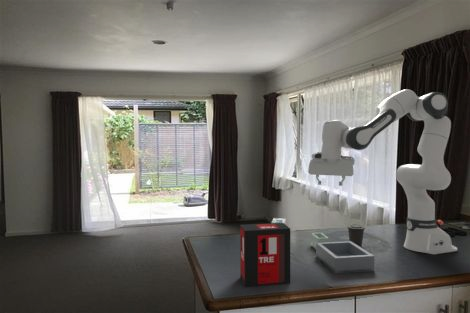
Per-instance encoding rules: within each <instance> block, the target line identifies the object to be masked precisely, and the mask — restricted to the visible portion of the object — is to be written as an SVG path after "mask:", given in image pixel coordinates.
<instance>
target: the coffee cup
mask: <svg viewBox="0 0 470 313" xmlns="http://www.w3.org/2000/svg"><path fill="white" fill-rule="evenodd" d="M347 229H348V230H347V231H348V239H349V240H348V241H351V242H353V243H354V244H356V245H358V246H359V247H361V248H362V247H363V246H362V245H363V240H364V231H365V230H366V228H365V226H363V225H359V224H357V223H356V224H350V225H348V226H347Z"/></svg>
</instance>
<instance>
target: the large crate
mask: <svg viewBox="0 0 470 313" xmlns="http://www.w3.org/2000/svg"><path fill="white" fill-rule="evenodd" d="M315 257H316V258H317V259H318V260H319V261H321V263H323V264H324V265H325V266H326V267H327V268H328V269H330V271H332V272H333V273H334V274H347V273H348V274H349V273H365V272H375V255H374V254H372V253H370V252H369V251H368V250H366V249H364V248H362V247H359V246H358V245H356V244H354V243H353V242H351V241H349V240H347V241H345V240H344V241H331V242H330V241H329V242H326V243H316V249H315Z"/></svg>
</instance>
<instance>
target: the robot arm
mask: <svg viewBox="0 0 470 313" xmlns="http://www.w3.org/2000/svg"><path fill="white" fill-rule="evenodd" d="M448 107H449V102H448V98H447V96H446V95H445V94H444V93H443V92H438V91H434V92H433V91H432V92H429V93H427V94H424V95H422V96H418V95H417V94H416V92H414V90H411V89H408V88H406V89H402V90H400V91H397V92H395V93H393V94H392V95H390V96H388V97H387V98H385V99H384V100H383V101H382V102H381V103H379V105H378V106H377V107H376V117H374V118H373V119H372V120H370V121H369V122H368V123H367V124H365V125H362V126H355V127H351V126H348V125H346V124H345V123H343V122H342V120H340V119H334V120H329V121H326V122H324V124H323V126H322V132H321V133H322V134H321V141H322V145H321V151H317V152H315V153H312V154H311V159H310V161H309V164H308V174H309V175H315V178H316V180H317V185H321V186H322V180H320V179H319V177H320V176H336V177H337V176H338V177H341V178H342V179H341V181H339V182H338V186H339V187H342V186H343V183H344V181H345V180H346V177H353V176H354V165H355V161H356V160H355V158H354V157H353V156H352V155H342V148H345V149H349V150H351V149H352V150H358V151H362V150H365V149H367V148H368V146H369V145H370V144H371V142H372V141H373V140H374V139H375V137H376V136H378V134H381V132H383V131H384V130H385V129H386V128H388V127H389V126H390V125H391V124H393V123H395V122H396V121H398V120H400V119H401V118H403V117H404V116H405V115H406V116H407V118H409V119H410V120H411V121H414V122H423V123H424V127H423V131H422V134H421V136H420V138H419V143H418V145H417V150H416V151H417V153H418V154H419V156H421V158H422V163H421V164H418V163H415V164H414V163H408V164H402V165H400V166H398V168H397V169H396V173H395V177H396V180H397V182H398V183H399V184H400V185H401V187H402V188H403V191H404V193H405V195H406V200H407V217H406V228H407V229H406V235H405V241H404V244H403V247H404V248H405V249H407V250H410V251H413V252H419V253H425V254H430V255H438V254H445V253H446V254H447V253H453V252H458V251H459V250H458V247H457V246H455V245H453V244H452V238H451V236H450V235H449V234H448V233H447V232H446V231H444V230H443V229H441V227H439V225H440V226H442V225H443V224H444V221H443V220H441V219H437V218H436V216H435V215H436V203H435V201H434V200H433V199H432V198H431V197H430V195H429V194H428V192H427V190H428V191H442V190H446V189H447V188H448V187H449V186H450V184H451V181H452V176H451V173H450V171H449V170H448V169H447V167H446V164H445V163H444V162H445V160H444V156H445V153H446V148H447V144H448V142H449V137H450V134H451V129H452V121H451V119H450V118H449V117H448V116H446V115H447V114H448V113H449V110H448Z"/></svg>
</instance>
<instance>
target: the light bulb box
mask: <svg viewBox="0 0 470 313" xmlns="http://www.w3.org/2000/svg"><path fill="white" fill-rule="evenodd" d="M270 223H284V224H285V225H286V226H287V218H280V217H279V218H278V217H273V219H272V221H271V222H270Z"/></svg>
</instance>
